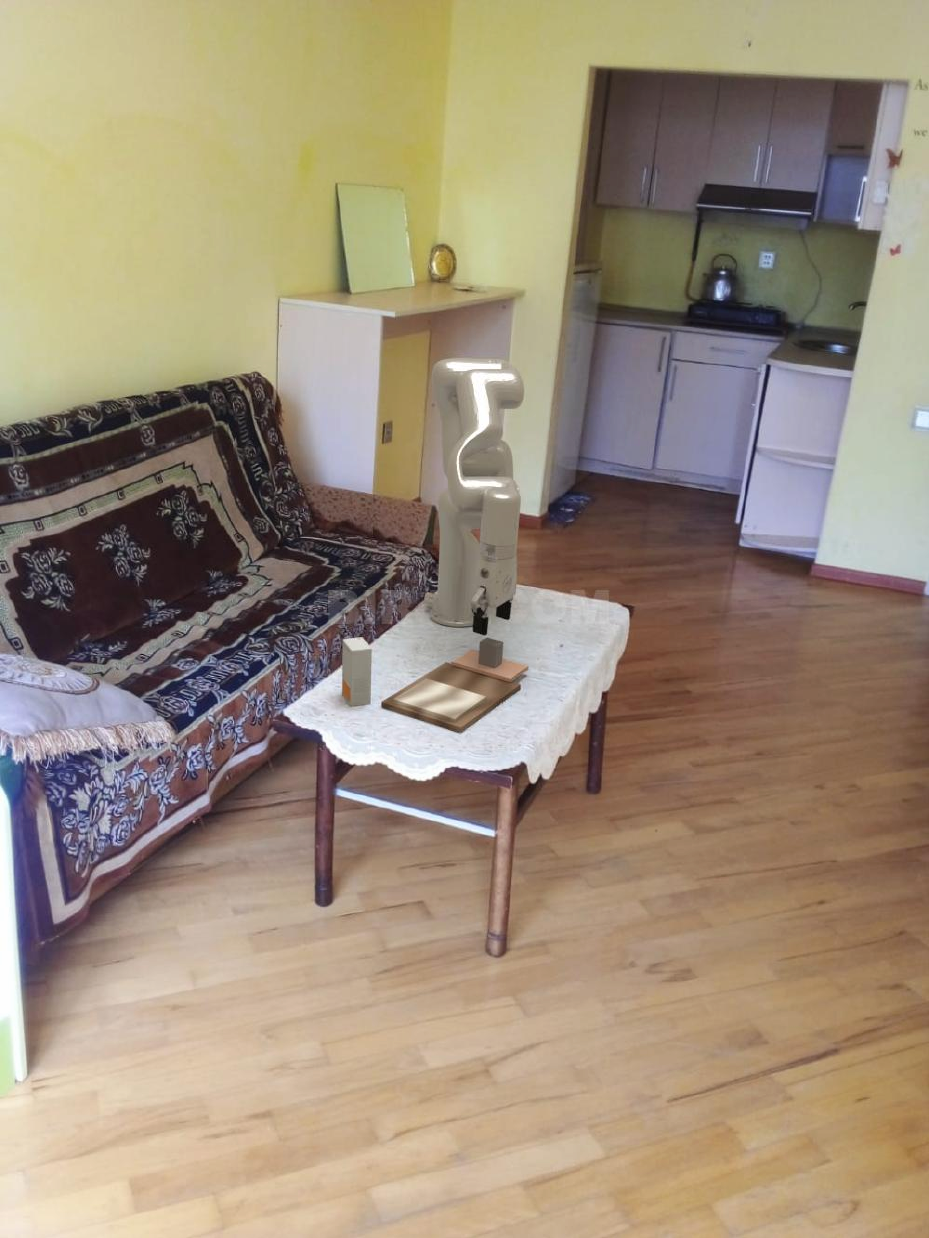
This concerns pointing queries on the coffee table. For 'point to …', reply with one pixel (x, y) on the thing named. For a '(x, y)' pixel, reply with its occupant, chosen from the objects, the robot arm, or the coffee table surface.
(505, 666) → the peach lid with handle
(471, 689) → the board
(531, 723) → the coffee table surface
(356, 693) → the skincare box
